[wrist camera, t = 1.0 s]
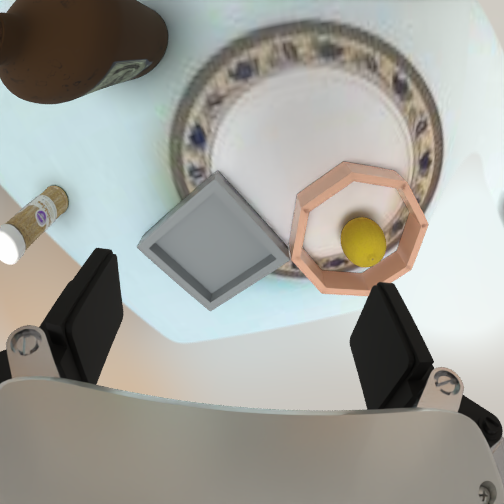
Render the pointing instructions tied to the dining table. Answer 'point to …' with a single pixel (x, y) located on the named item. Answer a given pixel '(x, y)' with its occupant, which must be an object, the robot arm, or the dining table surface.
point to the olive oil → (77, 46)
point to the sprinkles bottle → (31, 223)
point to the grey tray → (214, 243)
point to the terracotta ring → (381, 271)
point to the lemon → (363, 242)
